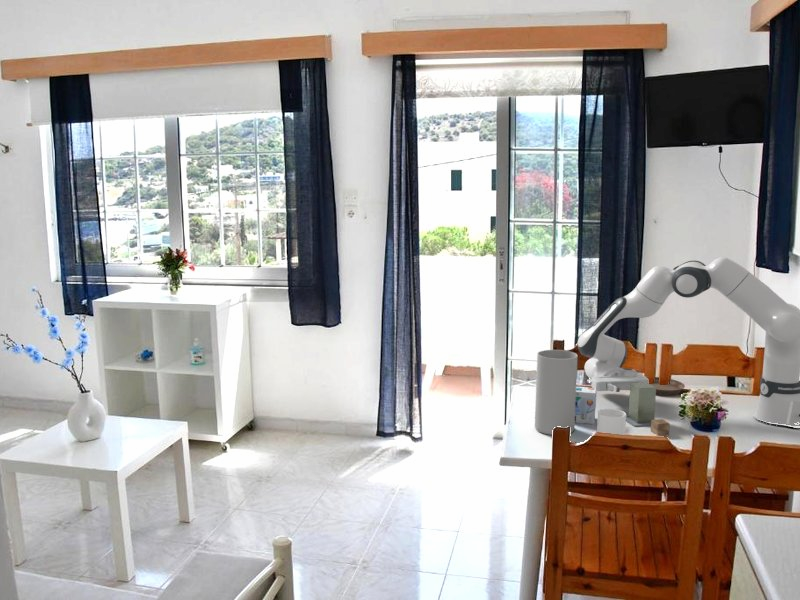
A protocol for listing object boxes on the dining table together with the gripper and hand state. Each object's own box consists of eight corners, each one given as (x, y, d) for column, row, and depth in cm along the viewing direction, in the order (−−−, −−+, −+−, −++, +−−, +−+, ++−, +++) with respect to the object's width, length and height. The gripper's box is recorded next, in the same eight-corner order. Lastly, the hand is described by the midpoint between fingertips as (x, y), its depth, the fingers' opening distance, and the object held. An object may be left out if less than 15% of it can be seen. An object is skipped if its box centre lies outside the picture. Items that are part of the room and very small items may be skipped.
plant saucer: (692, 391, 284) (693, 383, 284) (670, 400, 272) (671, 392, 272) (650, 381, 297) (650, 374, 297) (627, 389, 285) (627, 382, 285)
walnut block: (662, 431, 239) (662, 419, 238) (668, 435, 235) (669, 423, 234) (650, 431, 238) (651, 419, 237) (657, 435, 234) (657, 423, 233)
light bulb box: (561, 421, 247) (562, 390, 246) (563, 415, 254) (564, 384, 252) (594, 424, 244) (596, 393, 243) (595, 418, 251) (596, 387, 249)
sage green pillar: (644, 416, 251) (646, 382, 249) (653, 422, 246) (656, 387, 244) (628, 417, 250) (630, 383, 248) (637, 423, 244) (639, 388, 242)
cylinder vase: (527, 425, 243) (530, 351, 239) (561, 421, 247) (564, 348, 243) (546, 438, 231) (549, 360, 227) (581, 434, 235) (585, 357, 231)
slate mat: (646, 415, 254) (646, 414, 254) (662, 425, 244) (662, 423, 244) (619, 417, 252) (619, 416, 252) (634, 426, 242) (634, 425, 242)
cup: (600, 449, 222) (601, 417, 220) (590, 435, 234) (592, 404, 232) (627, 449, 222) (629, 417, 220) (616, 435, 234) (618, 405, 232)
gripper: (585, 371, 265) (602, 381, 251) (637, 368, 268) (657, 379, 255) (584, 388, 266) (601, 399, 252) (636, 385, 270) (656, 396, 256)
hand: (630, 389), depth 254 cm, fingers open, 8 cm apart
